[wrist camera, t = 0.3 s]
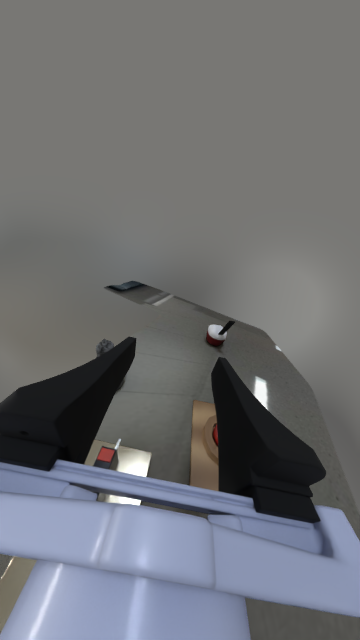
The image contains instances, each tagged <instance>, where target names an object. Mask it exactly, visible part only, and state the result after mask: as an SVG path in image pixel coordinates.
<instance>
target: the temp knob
mask: <svg viewBox="0 0 360 640" xmlns="http://www.w3.org/2000/svg"><path fill="white" fill-rule="evenodd" d="M118 461H119V460H118V454H117V449H113V448H109V447H105V446H102V447H101V450H100V452H99V454H98V456H97V458H96V460H95V462H94V464H93V467H98V468H103V469H109V470H114V471H115V469H116V466H117V463H118ZM91 492H93V491H91ZM93 493H96V494H97V499H96V501H99V502H103V501H104V499H105V496H106V494H104V493H98V492H93Z"/></svg>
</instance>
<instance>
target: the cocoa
mask: <svg viewBox="0 0 360 640" xmlns="http://www.w3.org/2000/svg"><path fill="white" fill-rule="evenodd" d="M234 323H235V322H234V321H229V322H228V323H227V324H226V325H225V327H224V328H223V327H222V326H220V325H210V326H209V328H208V331H207V340H208V342H209V343H210V344H212V345H214V346H218V345H221V344H222V343H223V342H224V341H225V339H226V335H227V330H228V329H229V328H230V327H231V326H232V325H233V324H234Z"/></svg>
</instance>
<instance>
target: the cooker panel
mask: <svg viewBox="0 0 360 640" xmlns="http://www.w3.org/2000/svg"><path fill="white" fill-rule="evenodd" d="M120 441H121V439H118V442H117V444H113V443H108V442H104V441H100V440H96V439H94V441H93V444H92V446H91V449H90V451H89V454H88V456H87V459H86V461H85V464H84V465H88V466H93V464H94V462H95V460H96V458H97V456H98V454H99V452H100V450H101V447H102V446H105V447H109V448H113V449H117V454H118V460H119V461H118V463H117V466H116V469H115V471H119V472H124V473H129V474H134V475H139V476H144V477H147V474H148V469H149V465H150V460H151V455H152V453H151V452H147V451H142V450H138V449H134V448H130V447H125V446H121V445H119V444H120ZM103 502H109V503H119V504H136V505H141V501H140V500H134V499H129V498H124V497H119V496H114V495H109V494H106V496H105V499H104V501H103ZM36 561H37V560H33V559H27V558H22V557H16V556H14V558H13V560H12V561H11V563H10V565H9V566H8V568H7V570H6V572H5V573H4V575H3V577H2V578H1V580H0V634H1V632H2V630H3V628H4V626H5V624H6V622H7V620H8V618H9V616H10V614H11V612H12V610H13V608H14V606H15V603H16V601H17V599H18V597H19V595H20V593H21V591H22V589H23V587H24V585H25V583H26V581H27V579H28V577H29V575H30V573H31V571H32V569H33V567H34V565H35V563H36Z"/></svg>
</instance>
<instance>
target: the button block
mask: <svg viewBox="0 0 360 640" xmlns="http://www.w3.org/2000/svg"><path fill="white" fill-rule="evenodd" d="M216 425H217V417H216V410H215V404H211V403H207V402H202V401H198V400H193V415H192V436H191V457H190V479H189V486H194V487H199V488H204V489H209V490H214V491H218V485H219V464H218V446H217V444H216V443H215V440H214V437H213V430H214V428H215V426H216Z"/></svg>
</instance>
